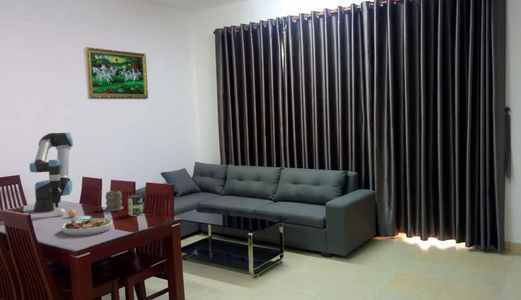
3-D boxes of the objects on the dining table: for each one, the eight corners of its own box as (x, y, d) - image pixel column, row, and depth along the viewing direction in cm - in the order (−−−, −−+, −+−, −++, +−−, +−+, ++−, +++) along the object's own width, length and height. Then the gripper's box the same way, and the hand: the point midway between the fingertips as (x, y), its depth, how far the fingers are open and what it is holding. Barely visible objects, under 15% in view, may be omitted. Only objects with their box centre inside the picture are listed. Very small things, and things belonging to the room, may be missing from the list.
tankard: (103, 209, 342) (102, 190, 341) (119, 207, 350) (118, 188, 349) (112, 213, 326) (112, 193, 325) (128, 210, 334) (128, 191, 333)
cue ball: (54, 213, 319) (57, 207, 317) (60, 211, 324) (63, 206, 322) (58, 218, 317) (61, 212, 315) (65, 216, 322) (67, 210, 320)
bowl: (86, 223, 295) (86, 212, 294) (122, 227, 284) (121, 215, 283) (50, 235, 267) (50, 222, 266) (88, 239, 256) (88, 226, 255)
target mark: (65, 219, 307) (65, 219, 307) (81, 215, 320) (81, 215, 320) (79, 221, 301) (79, 220, 301) (95, 217, 314) (95, 216, 314)
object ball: (66, 217, 313) (66, 210, 313) (72, 216, 318) (72, 208, 318) (71, 218, 311) (71, 210, 310) (77, 216, 316) (77, 209, 315)
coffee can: (145, 213, 324) (144, 194, 323) (138, 216, 314) (138, 197, 313) (132, 212, 326) (132, 194, 325) (126, 215, 316) (125, 197, 315)
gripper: (44, 180, 319) (46, 212, 320) (55, 181, 313) (57, 213, 313) (53, 179, 326) (55, 210, 326) (64, 180, 319) (66, 211, 320)
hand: (56, 211), depth 320 cm, fingers closed
